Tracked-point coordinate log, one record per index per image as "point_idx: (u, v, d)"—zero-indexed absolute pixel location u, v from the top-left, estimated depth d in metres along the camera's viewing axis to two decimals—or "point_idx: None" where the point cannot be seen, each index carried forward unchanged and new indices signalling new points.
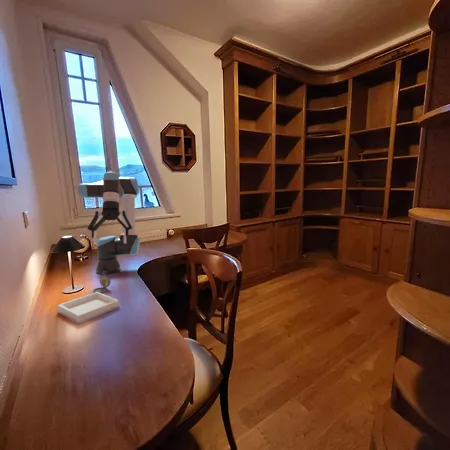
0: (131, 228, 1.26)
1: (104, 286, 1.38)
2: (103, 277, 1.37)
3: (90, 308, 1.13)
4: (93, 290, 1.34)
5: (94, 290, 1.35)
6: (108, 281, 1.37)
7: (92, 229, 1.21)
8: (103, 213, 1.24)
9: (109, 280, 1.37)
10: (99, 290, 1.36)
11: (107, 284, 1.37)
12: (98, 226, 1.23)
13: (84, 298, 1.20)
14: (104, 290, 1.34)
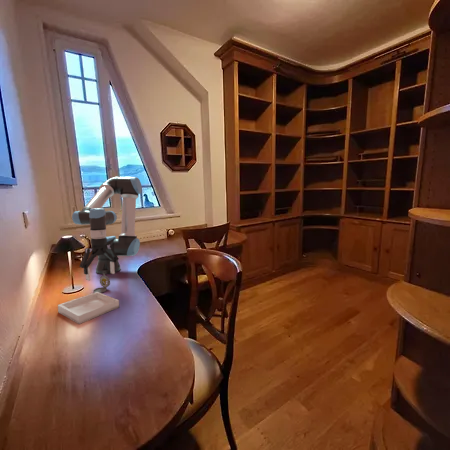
0: (117, 259, 1.42)
1: (104, 286, 1.38)
2: (103, 277, 1.37)
3: (90, 308, 1.13)
4: (93, 290, 1.34)
5: (94, 290, 1.35)
6: (108, 281, 1.37)
7: (86, 267, 1.27)
8: (94, 250, 1.30)
9: (109, 280, 1.37)
10: (99, 290, 1.36)
11: (107, 284, 1.37)
12: None
13: (84, 298, 1.20)
14: (104, 290, 1.34)
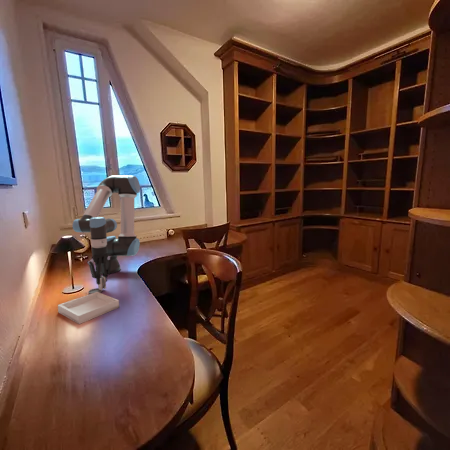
0: None
1: None
2: None
3: (90, 308, 1.13)
4: None
5: (90, 291, 1.34)
6: (103, 283, 1.34)
7: (99, 277, 1.33)
8: (95, 259, 1.31)
9: (104, 282, 1.34)
10: (95, 291, 1.34)
11: (103, 286, 1.35)
12: None
13: (84, 298, 1.20)
14: None
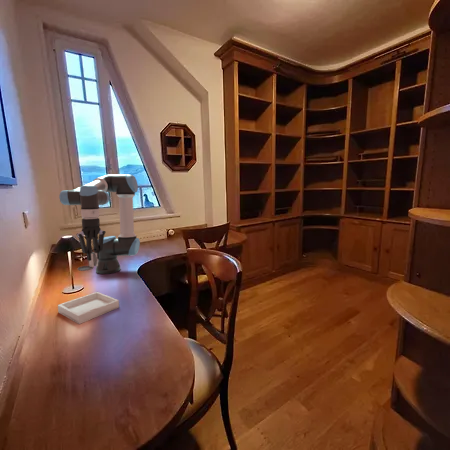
0: None
1: None
2: None
3: (90, 308, 1.13)
4: None
5: (80, 268, 1.21)
6: (94, 259, 1.20)
7: (90, 253, 1.19)
8: (85, 231, 1.17)
9: (96, 258, 1.21)
10: (85, 268, 1.21)
11: (94, 262, 1.21)
12: None
13: (84, 298, 1.20)
14: (88, 268, 1.18)
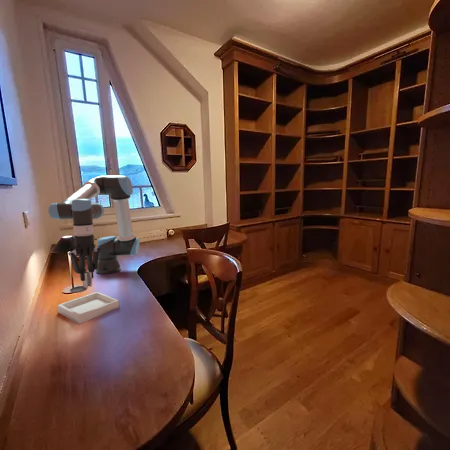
0: None
1: None
2: None
3: (90, 308, 1.13)
4: (70, 289, 1.09)
5: (73, 289, 1.10)
6: (88, 279, 1.10)
7: (83, 272, 1.09)
8: (78, 249, 1.07)
9: (90, 278, 1.10)
10: (78, 289, 1.10)
11: (88, 283, 1.11)
12: None
13: (84, 298, 1.20)
14: (81, 290, 1.08)
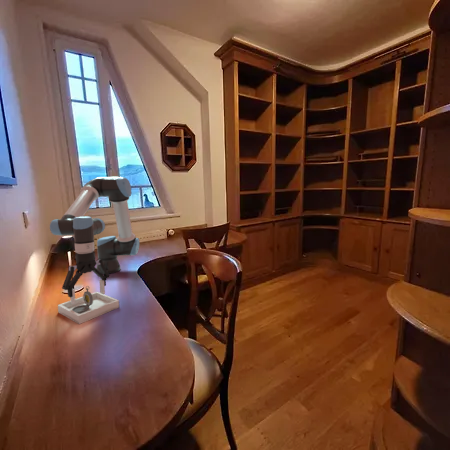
0: (108, 276, 1.20)
1: (87, 304, 1.14)
2: (86, 293, 1.13)
3: (90, 308, 1.13)
4: None
5: (74, 308, 1.12)
6: (90, 299, 1.11)
7: (70, 288, 1.05)
8: (80, 267, 1.08)
9: (91, 298, 1.12)
10: (80, 309, 1.12)
11: (89, 302, 1.12)
12: None
13: None
14: (83, 310, 1.09)
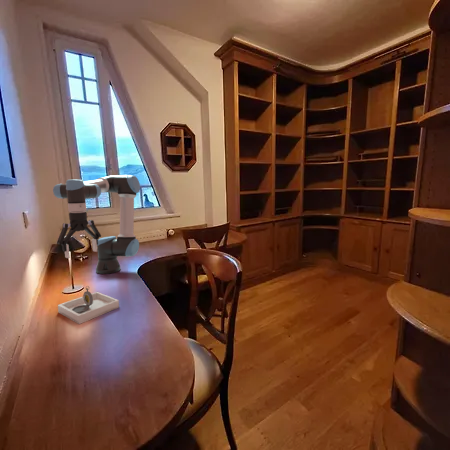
0: (99, 236, 1.32)
1: (87, 304, 1.14)
2: (86, 293, 1.13)
3: (90, 308, 1.13)
4: None
5: (74, 308, 1.12)
6: (90, 299, 1.11)
7: (64, 243, 1.16)
8: (73, 225, 1.19)
9: (91, 298, 1.12)
10: (80, 309, 1.12)
11: (89, 302, 1.12)
12: None
13: None
14: (83, 310, 1.09)
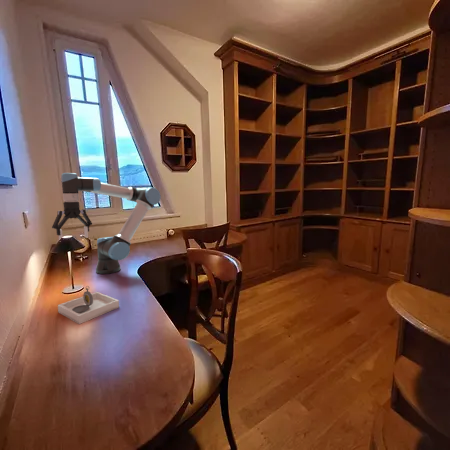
0: (91, 224, 1.48)
1: (87, 304, 1.13)
2: (86, 293, 1.13)
3: (90, 308, 1.13)
4: None
5: (74, 308, 1.12)
6: (90, 299, 1.11)
7: (58, 228, 1.33)
8: (66, 212, 1.36)
9: (91, 298, 1.12)
10: (80, 309, 1.12)
11: (89, 302, 1.12)
12: None
13: None
14: (83, 310, 1.09)
